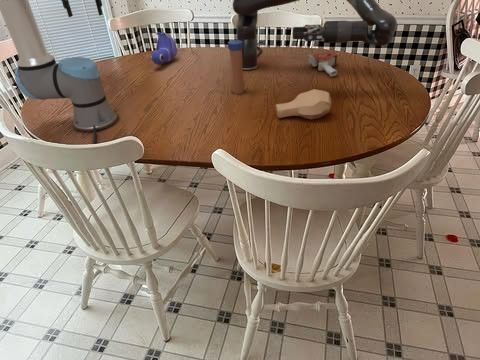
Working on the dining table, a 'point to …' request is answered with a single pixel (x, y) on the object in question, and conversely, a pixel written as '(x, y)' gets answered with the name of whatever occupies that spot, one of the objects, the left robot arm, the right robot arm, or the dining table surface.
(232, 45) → the lid
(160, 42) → the toy
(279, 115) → the squash
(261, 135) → the dining table surface
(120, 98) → the dining table surface
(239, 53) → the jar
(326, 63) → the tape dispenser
